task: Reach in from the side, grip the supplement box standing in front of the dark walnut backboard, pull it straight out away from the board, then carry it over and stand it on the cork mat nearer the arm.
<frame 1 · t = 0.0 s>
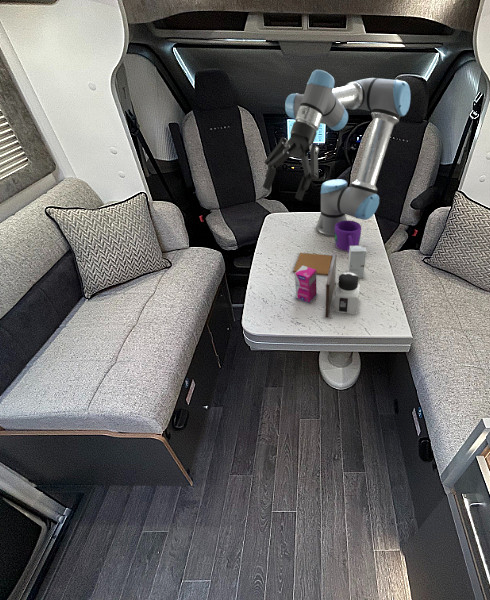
hand: (281, 193, 107), 36 cm above the table, tool tilted 35°, fingers open, 13 cm apart
supplement box: (306, 297, 124), on the table
cosmetic box: (355, 275, 136), on the table
cork mat: (313, 264, 141), on the table
mug: (347, 250, 151), on the table
container: (346, 306, 120), on the table
backboard: (330, 299, 123), on the table
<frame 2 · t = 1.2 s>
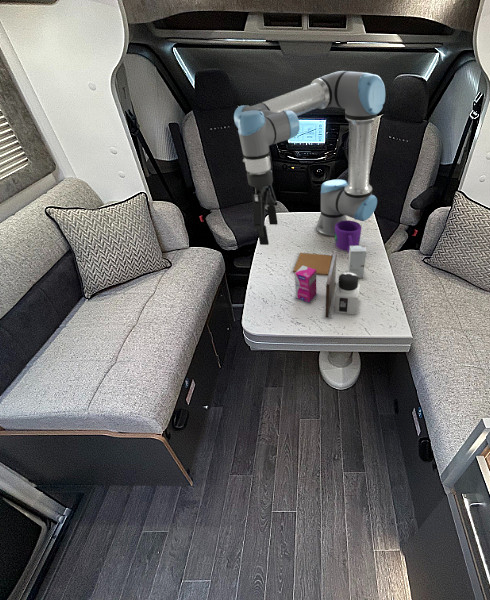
hand: (269, 233, 115), 22 cm above the table, tool pointing down, fingers open, 13 cm apart
nothing on the table moved.
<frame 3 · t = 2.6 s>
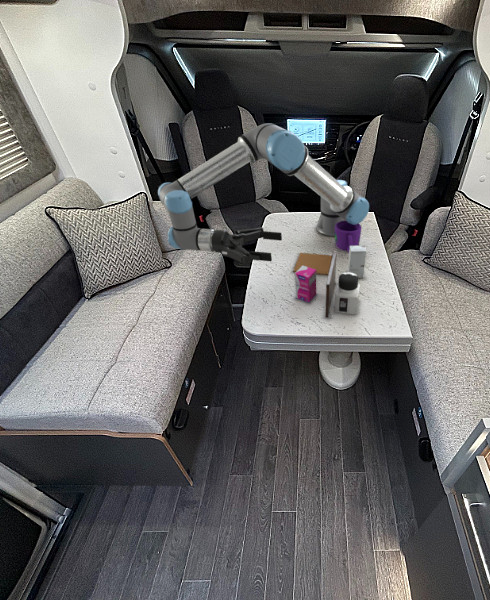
hand: (276, 246, 113), 20 cm above the table, tool horizontal, fingers open, 13 cm apart
nothing on the table moved.
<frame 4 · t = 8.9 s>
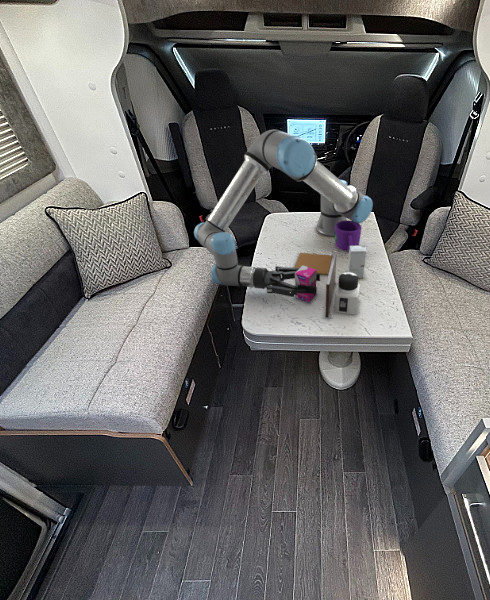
hand: (318, 283, 120), 7 cm above the table, tool horizontal, fingers closed on supplement box, 7 cm apart
supplement box: (306, 297, 124), on the table, touching gripper
everything else where it was.
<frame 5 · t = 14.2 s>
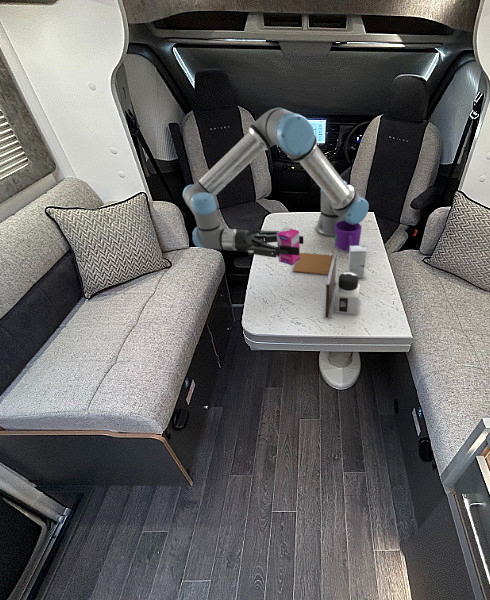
hand: (301, 245, 118), 18 cm above the table, tool horizontal, fingers closed on supplement box, 7 cm apart
supplement box: (289, 260, 123), point 11 cm above the table, touching gripper
everything else where it was.
when the fingers open (7 cm above the table, at t = 19.8 s): supplement box stays where it is, resting on cork mat.
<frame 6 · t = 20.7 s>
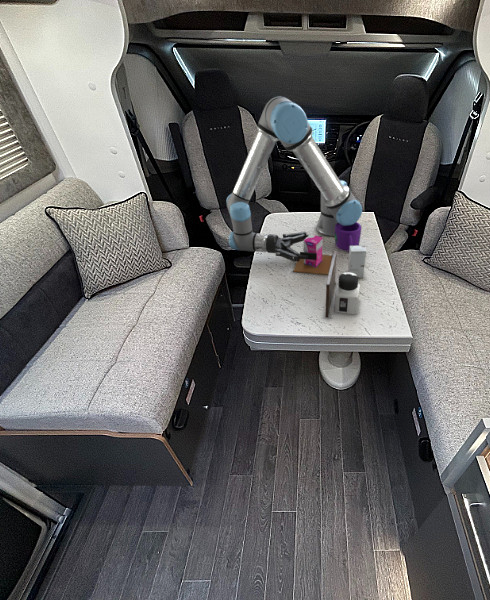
hand: (319, 247, 136), 8 cm above the table, tool horizontal, fingers open, 13 cm apart
supplement box: (313, 263, 141), resting on cork mat
everything else where it was.
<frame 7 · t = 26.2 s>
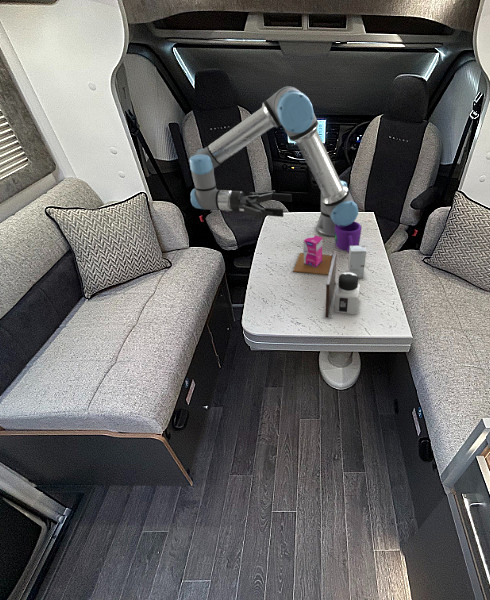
hand: (287, 205, 127), 25 cm above the table, tool horizontal, fingers open, 13 cm apart
nothing on the table moved.
at the end: supplement box inside the target area on the cork mat (0.1 cm from its centre), point 0.4 cm above the cork mat's base; supplement box tilted 0°; the gripper is holding nothing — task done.
